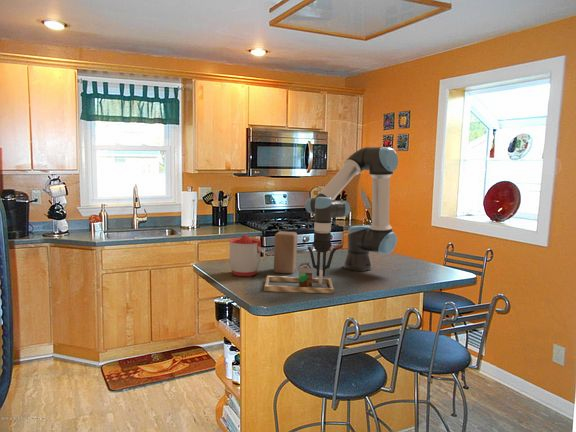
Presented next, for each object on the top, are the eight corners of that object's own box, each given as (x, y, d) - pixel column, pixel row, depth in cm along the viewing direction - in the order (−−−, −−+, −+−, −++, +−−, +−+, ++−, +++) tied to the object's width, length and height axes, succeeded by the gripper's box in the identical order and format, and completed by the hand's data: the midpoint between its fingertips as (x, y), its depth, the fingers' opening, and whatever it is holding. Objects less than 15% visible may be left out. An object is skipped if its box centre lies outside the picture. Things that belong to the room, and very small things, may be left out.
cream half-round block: (295, 283, 209) (295, 262, 208) (308, 283, 209) (309, 262, 208) (297, 290, 197) (298, 268, 196) (311, 290, 197) (312, 268, 196)
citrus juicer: (259, 279, 213) (260, 238, 211) (224, 276, 216) (225, 235, 214) (266, 271, 229) (267, 233, 226) (233, 269, 232) (234, 231, 229)
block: (292, 274, 225) (294, 234, 223) (273, 272, 227) (274, 233, 225) (296, 269, 235) (297, 232, 233) (277, 268, 237) (278, 230, 234)
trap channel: (330, 282, 212) (330, 277, 211) (333, 293, 194) (333, 288, 194) (267, 280, 212) (267, 275, 212) (264, 290, 195) (264, 285, 194)
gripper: (336, 230, 204) (334, 281, 206) (307, 229, 204) (305, 280, 207) (337, 233, 196) (335, 286, 199) (308, 232, 196) (306, 285, 199)
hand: (320, 283), depth 203 cm, fingers closed
